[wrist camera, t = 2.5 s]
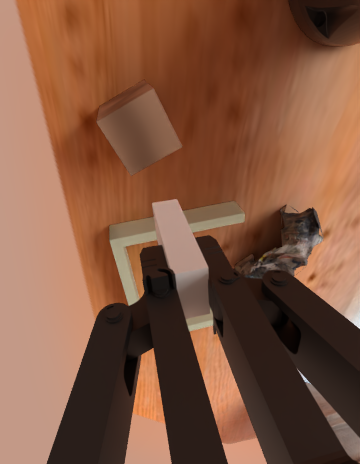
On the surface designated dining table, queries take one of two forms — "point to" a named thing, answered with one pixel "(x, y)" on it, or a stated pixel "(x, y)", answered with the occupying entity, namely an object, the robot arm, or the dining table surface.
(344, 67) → the dining table surface
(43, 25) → the dining table surface
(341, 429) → the planter
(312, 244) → the grey crumpled lump
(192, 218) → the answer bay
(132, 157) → the walnut block
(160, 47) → the dining table surface
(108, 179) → the dining table surface
